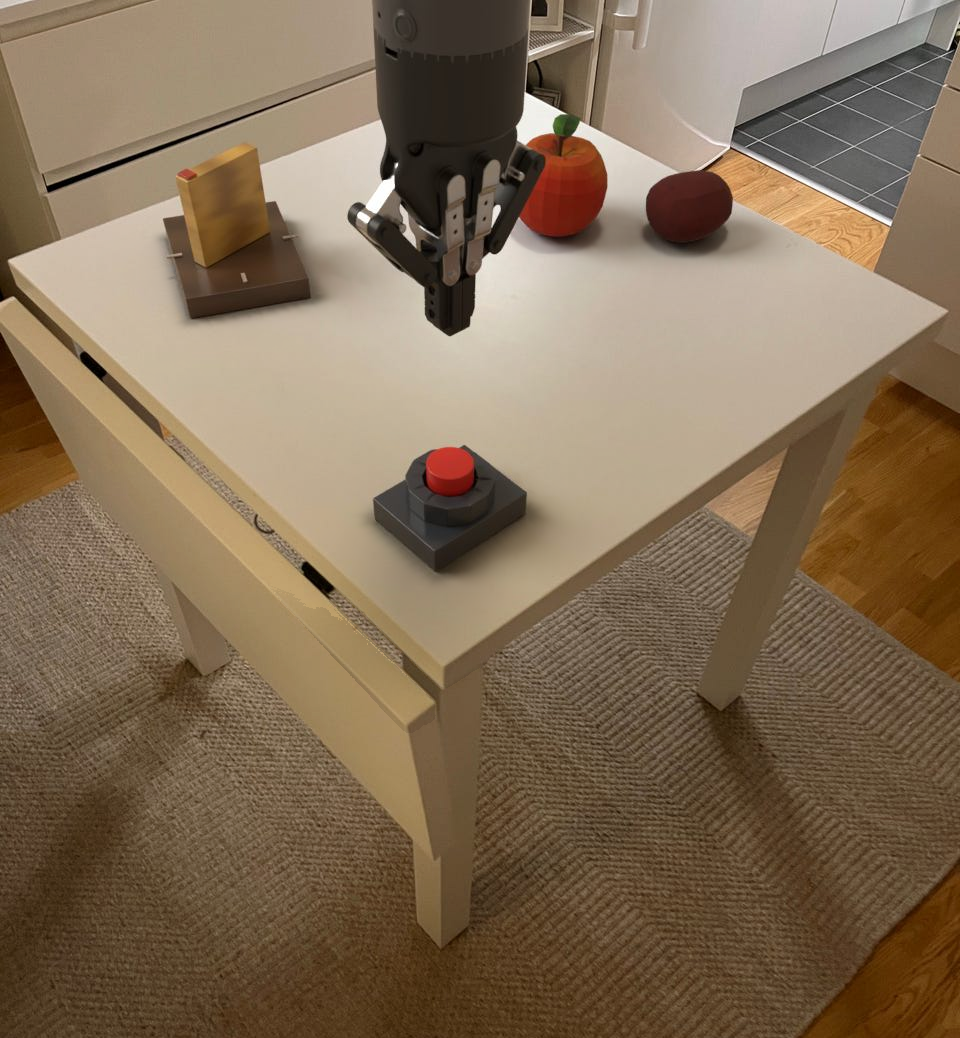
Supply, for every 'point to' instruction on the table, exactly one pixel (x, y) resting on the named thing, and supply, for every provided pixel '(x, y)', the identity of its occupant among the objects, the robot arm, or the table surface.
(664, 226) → the potato
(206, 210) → the wooden block
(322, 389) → the table surface
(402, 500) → the button block
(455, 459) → the button
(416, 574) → the table surface
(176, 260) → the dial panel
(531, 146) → the fruit
